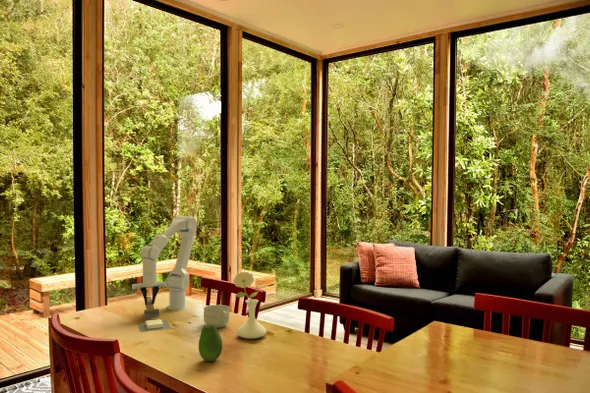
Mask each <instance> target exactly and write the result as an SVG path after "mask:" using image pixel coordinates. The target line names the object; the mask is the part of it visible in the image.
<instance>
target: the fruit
mask: <svg viewBox="0 0 590 393" xmlns="http://www.w3.org/2000/svg"><path fill="white" fill-rule="evenodd" d="M218 330H219V329H218V328H216V327H215V326H214V325H212V324H208V325H207V324H205V325H204V326H203V327H202V329H201V331H200V335H199V339H198V352H199V356H200V357H201V359H203V361H207V362H214V361H217V360H218V359H219V358H220V356H221V355H222V351H223V340H222V336H221V334H220V333H219V331H218Z"/></svg>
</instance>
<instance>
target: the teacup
mask: <svg viewBox="0 0 590 393" xmlns="http://www.w3.org/2000/svg"><path fill="white" fill-rule="evenodd" d="M230 309H231V307H230V306H229V305H225V304H224V305H223V304H210V305H205V306H203V322H204V324H205V325H208V324H212V325H214V326H215V327H216V328H217V329H218V328H224V327H225V326H226V325H227V324H228V323H229V320H230V313H231V312H230Z"/></svg>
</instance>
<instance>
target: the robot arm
mask: <svg viewBox="0 0 590 393" xmlns="http://www.w3.org/2000/svg"><path fill="white" fill-rule="evenodd" d="M197 225H198V222H197V220H196V218H195V217H194V216H187V215H186V216H180V215H176V216H175V217H174V218H173V219H172V220H171V224H170V225H168V226H167V229H166V230H165V231H164V232H163V233H162V234H157V235H155V237H154V239H152V241H150V242H149V243H148V245H144V246H143V247H141V249H140V252H139V257H140V258H141V262H142V282H140V283H133V284H131V288H132V290H140V291H141V293H142V297H143V300H144V304H145V305H147V297H148V290H147V289H149V288H151V292H152V293H151V294H152V295H151V299H152V303H153V305H155V302H156V298H157V295H158V293H159V291H160V288H162V287H164V288H168V291H169V293H168V296H169V298H168V302H169V304H168V305H167V306H168V307H167V308H168V310H169V309H170V310H171V311H180V310H188V307H187V306H186V291H187V289H188V287H189V285H190V274H189V273H188V271H187V268H188V264H189V261H190V260H189V259H190V256H191V251H192V248H193V243H194V240H195V235H196V234H195V233H196V230H197ZM177 232H178V233H179V234H181V235H180V236H182V237H181V242H180V246H179V250H178V254H177V258H176V261H175V266H174V268H173V269H172V270H170V272H169V273H168V276H167V278H166V280H165V281H157V260H158V259H159V256H160V253H161V252H162V250H163V249H164V248H165V247H166V246H167V244H168V242H169V241H168V240H169V239H170V238H172V237H173V236H174V235H175V234H177ZM145 305H144V306H145ZM170 310H169V311H170Z"/></svg>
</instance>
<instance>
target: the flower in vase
mask: <svg viewBox="0 0 590 393" xmlns="http://www.w3.org/2000/svg"><path fill="white" fill-rule="evenodd" d="M232 281H233V284H234V286H235V287H237V288H240V289H246V288H248V287H249V286H252V285H253V283H254V282H255V278H254V275H253V274H252V273H250V272H249V271H247V272H246V271H243V272H242V271H241V272H239V273H237V274H236V275H235V276H234V278H233V279H232ZM258 293H259V291H258V290H257V291H255V292H253V293H251V294H250V295H249V294H248V293H247V291H246V290H244V292H243V291H240V292H238V293H236V294H235V295H234V298H235V297H236V298H240V299H241V298H244V297H245V296H246V297H247V299H246V300H245V303H246V305H247V309H248V319H247V321H246V322H245V323H244V324H243V323H242V325H241V326H240V327H239V328H238V329H237V330H236V334H237V335H238V337H240V338H244V339H251V340H252V339H259V338H262V337H264V336H266V334H267V329H266V328H265V327H264V326H263V325H262V324H261V323H260V322H258V321H257V319H256V316H255V314H256V307H257V305H258V303H259V300H258V299H253V298H254V297H256V296H257V295H258Z"/></svg>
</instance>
